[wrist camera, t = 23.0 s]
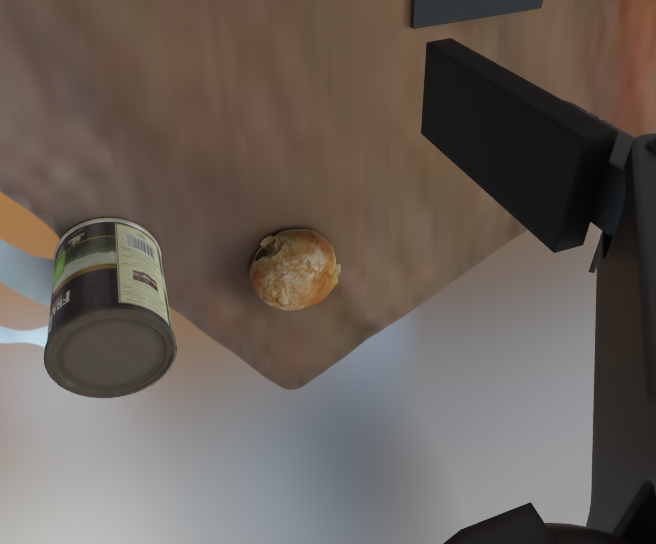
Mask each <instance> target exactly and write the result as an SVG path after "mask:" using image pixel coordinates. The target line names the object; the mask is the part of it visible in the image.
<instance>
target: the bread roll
mask: <svg viewBox="0 0 656 544" xmlns="http://www.w3.org/2000/svg"><path fill="white" fill-rule="evenodd" d="M260 245H261V247H260V248H259V250H258V251H257V253H256V255H255V257H254V260H253V261H252V263H251V267H250V270H249V277H250V282H251V285H252V287H253V289H254V291H255V292H256V294H257V295H258V296H259V297H260V298H261V299H262V300H263V301H264V302H265V303H267V304H268V305H270V306H272V307H275V308H278V309H283V310H288V311H292V310H299V309H302V308H307V307H311V306H313V305H315V304H317V303H318V302H320V301H322V300H323V299H324V298H325V297H326V296H327V295H328V294H329V293H330V291H331V290H332V289H333V288H334V287H335V285H336V284H337V283H338V279H337V276H338V275H339V274H340V268H341V266H340V264H339V262H338V263H336V257H335V254H334V249H333V248H332V247H331V246H330V244H329V243H328V242H327V241H326V238H325V237H323V236H322V235H320V234H319V233H317V232H315V231H314V230H306V229H291V230H285V231H282V232H279V233H278V234H276V235H275V236H270V235H269V236H267V237H266V238H264V239H263V240H262V242H261V243H260Z"/></svg>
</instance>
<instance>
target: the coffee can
mask: <svg viewBox="0 0 656 544" xmlns="http://www.w3.org/2000/svg"><path fill="white" fill-rule="evenodd" d="M161 258H162V257H161V251H160V248H159V245H158V243H157V241H156V240H155V238H154V237H153V236H152V235H151V234H150V233H149V232H148V231H147V230H145V229H144V228H142V227H141V226H139V225H137V224H135V223H133V222H130V221H127V220H123V219H118V218H98V219H93V220H89V221H86V222H83V223H81V224H78V225H76V226H75V227H73V228H72V229H70V230H69V231H68V232H67V233H66V234H65V235H64V236H63V237H62V238H61V239H60V241H59V243H58V245H57V247H56V250H55V253H54V263H55V264H54V276H53V286H52V297H51V307H50V319H49V328H48V339H47V343H46V346H45V352H44V364H45V368H46V370H47V372H48V374H49V375H50V377H51V378H52V379H53V380H54V381H55V382H56V383H57V384H58V385H59V386H61V387H63V388H64V389H66V390H68V391H70V392H73V393H75V394H78V395H82V396H87V397H96V398H113V397H120V396H126V395H130V394H133V393H136V392H139V391H141V390H144V389H146V388H148V387H149V386H151V385H153V384H154V383H156V382H157V381H159V380H160V379H161V378H162V377H163V376H164V375H165V374H166V373H167V372H168V371H169V369H170V368H171V366H172V365H173V363H174V361H175V358H176V353H177V346H176V340H175V336H174V333H173V331H172V326H171V319H170V313H169V306H168V299H167V293H166V287H165V281H164V275H163V269H162V262H161Z"/></svg>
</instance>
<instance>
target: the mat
mask: <svg viewBox="0 0 656 544" xmlns="http://www.w3.org/2000/svg"><path fill="white" fill-rule="evenodd" d="M542 2H543V0H412V9H411V28H413V29H415V28H421V27H428V26H434V25H440V24H446V23H452V22H458V21H464V20H471V19H477V18H483V17H489V16H495V15H501V14H507V13H513V12H520V11H526V10H532V9H538V8H541V7H542Z"/></svg>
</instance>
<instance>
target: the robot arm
mask: <svg viewBox="0 0 656 544" xmlns="http://www.w3.org/2000/svg"><path fill="white" fill-rule="evenodd" d="M421 134H422V135H424V136H425V137H426V138H427V139H428V140H429V141H430V142H431V143H432V144H434V145H435V146H436V147H437V148H438V149H439V150H440V151H441V152H442V153H444V154H445V155H446V156H447V157H448V158H449V159H450V160H451V161H452V162H454V163H455V164H456V165H457V166H458V167H459V168H460V169H461V170H462V171H464V172H465V173H466V174H467V175H468V176H469V177H470V178H471V179H472V180H474V181H475V182H476V183H477V184H478V185H479V186H480V187H481V188H482V189H484V190H485V191H486V192H487V193H488V194H489V195H490V196H491V197H492V198H494V199H495V200H496V201H497V202H498V203H499V204H500V205H501V206H502V207H504V208H505V209H506V210H507V211H508V212H509V213H510V214H511V215H512V216H514V217H515V218H516V219H517V220H518V221H519V222H520V223H521V224H522V225H524V226H525V227H526V228H527V229H528V230H529V231H530V232H531V233H532V234H534V235H535V236H536V237H537V238H538V239H539V240H540V241H541V242H543V243H544V244H545V245H546V246H547V247H548V248H549V249H550V250H551V251H553V252H554V253H556V252H560V251H563V250H567V249H570V248H574V247H577V246H581V245H583V243H584V240H585V237H586V234H587V231H588V227H589V224H590V222H592V223H593V224H594V225H596V226H597V227H598V228H600V229H601V230H602V234H601V237H600V240H599V243H598V246H597V249H596V252H595V255H594V258H593V261H592V263H591V267H590V270H589V272H592V273H594V272H595V269H596V268H597V289H596V290H597V291H596V329H595V330H596V331H595V371H594V413H593V453H592V495H591V506H590V512H589V517H588V521H587V525H586V527H584V526H578V525H573V524H561V523H544V522H543V520H542V519H541V517H540V516H539V514H538V513H537V511H536V510H535V508H534V507H533V505H532V504H531V503H528V504H525V505H523V506H520V507H518V508H515V509H512V510H510V511H507V512H505V513H502V514H500V515H497V516H495V517H492V518H490V519H487V520H484V521H482V522H479V523H477V524H474V525H472V526H469V527H466V528H464V529H461V530H460V531H459V532H457V533H456V534H455V535H454V536H452V537H451V538H450V539H449V540H447V541H446V542H445V543H444V544H656V134H646V135H641V136H639V137H637V138H635V137H633V136H631V135H629V134H627V133H626V132H624V131H622V130H620V129H618V128H617V127H615V126H613V125H611V124H609V123H607V122H606V121H604V120H599V118H598V117H597V116H595V115H593V114H591V113H587V111H586V110H584V109H582V108H580V107H578V106H577V105H575V104H573V103H571V102H567V101H564V100H561V99H559V98H557V97H555V96H554V95H552V94H550V93H548V92H547V91H545V90H543V89H541V88H539V87H538V86H536V85H534V84H532V83H530V82H529V81H527V80H525V79H523V78H521V77H520V76H518V75H516V74H514V73H512V72H511V71H509V70H507V69H505V68H503V67H502V66H500V65H498V64H496V63H494V62H493V61H491V60H489V59H487V58H485V57H484V56H482V55H480V54H478V53H477V52H475V51H473V50H471V49H469V48H468V47H466V46H464V45H462V44H460V43H459V42H457V41H455V40H453V39H451V38H450V39H444V40H438V41H432V42H427V45H426V62H425V78H424V95H423V112H422V128H421Z"/></svg>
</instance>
